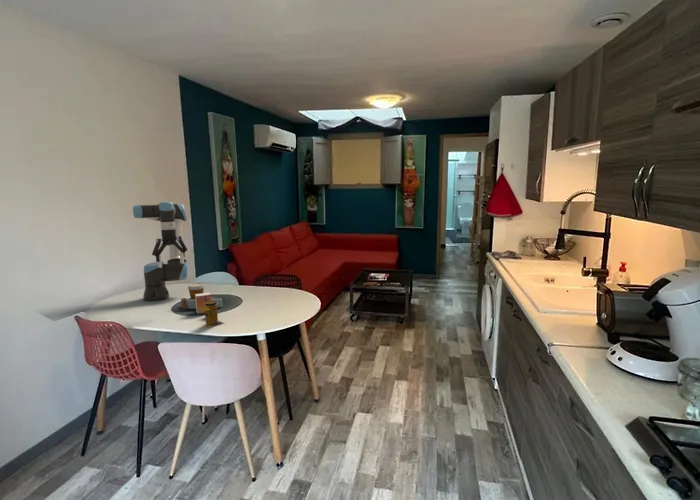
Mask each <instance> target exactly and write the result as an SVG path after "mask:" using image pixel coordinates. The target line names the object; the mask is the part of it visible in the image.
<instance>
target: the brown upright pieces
mask: <svg viewBox="0 0 700 500" xmlns="http://www.w3.org/2000/svg"><path fill="white" fill-rule="evenodd" d="M185 300H188V298H186V297H183V298H180V302H181V303H180V305H181V309H182V310H187V309H186V302H185Z"/></svg>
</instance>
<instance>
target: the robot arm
mask: <svg viewBox="0 0 700 500" xmlns="http://www.w3.org/2000/svg"><path fill="white" fill-rule="evenodd" d="M132 214H133V217H134V219H148V220H151V221H156V222H160V229H161V231H160V232H161V238H156V240H155V241H156V242H155V245H154V248H153V250H152V253H151V255H152V256H155V261H154V262H150V263H148V264H145V265H144V266H143V276H144V278H143V279H144V286H145V288H144V290H143V291H144V292H143V295H142V298H143V299H144V300H143V301H145V300H146V301H147V302H157V301H162V300H166V299H168V298H170V292H169V290H168V288H167V285H166V282H175V281H179V282H180V281H185V280H187V279H188V277H189V273H190V262H188V261H187V259H186V258H185V257H186V256H185V253H186V251H188V248H187V246H186V244H185V243H184V231H183V230H184V229H183V228H184V227H183V226H184V224H186V223H185V222H186V221H187V214H186V209H185V205H184V204H182V203H174V202H172V201H160V202H158V204H138V205H133V207H132ZM167 246H169V259H167V263H164V261H162V256H161V254H162V252H163V251H164V249H166V247H167Z"/></svg>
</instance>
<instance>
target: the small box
mask: <svg viewBox="0 0 700 500" xmlns="http://www.w3.org/2000/svg"><path fill="white" fill-rule="evenodd" d="M211 295H212V294H211V293H210V292H203V293H201V294H195V301H196V308H195V311H196V313H197V314H205V308H206V307H205V306H206V305H205V303H207V302H211V299H212V298H211Z"/></svg>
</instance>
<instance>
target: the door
mask: <svg viewBox="0 0 700 500" xmlns="http://www.w3.org/2000/svg"><path fill="white" fill-rule="evenodd" d="M211 301H214V302H216V307H217V308H223V299H222V298H221V297H220V298H211ZM185 302H186V309H185V310H189V309H191V310H192V309H196V301H195V300H191V299H187V300H185Z"/></svg>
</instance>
